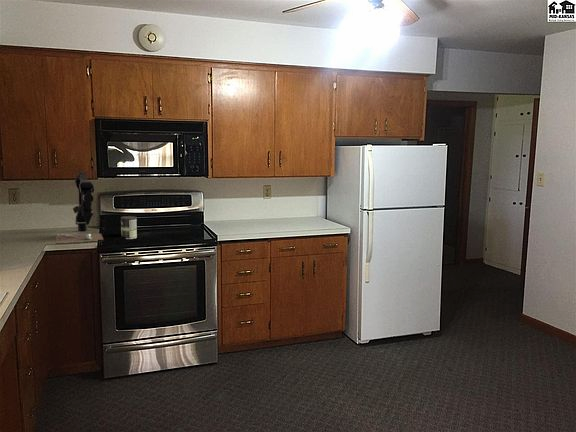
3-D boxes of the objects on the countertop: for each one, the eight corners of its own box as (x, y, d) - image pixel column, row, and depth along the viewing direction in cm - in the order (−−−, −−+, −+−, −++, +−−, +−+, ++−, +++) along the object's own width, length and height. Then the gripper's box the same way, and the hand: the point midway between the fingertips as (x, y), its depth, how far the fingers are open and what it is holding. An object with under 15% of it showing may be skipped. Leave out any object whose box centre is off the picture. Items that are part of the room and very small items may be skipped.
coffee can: (121, 239, 330) (120, 218, 328) (120, 236, 339) (120, 216, 337) (137, 238, 334) (137, 218, 331) (136, 235, 343) (136, 215, 341)
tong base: (57, 236, 328) (57, 233, 328) (89, 234, 336) (89, 231, 336) (57, 237, 324) (57, 234, 323) (90, 235, 332) (90, 233, 332)
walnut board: (55, 238, 328) (55, 236, 328) (100, 235, 340) (100, 233, 340) (55, 244, 310) (55, 241, 310) (103, 241, 322) (103, 239, 322)
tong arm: (62, 237, 325) (62, 231, 324) (66, 236, 328) (66, 231, 327) (89, 240, 318) (89, 234, 317) (92, 239, 321) (92, 233, 320)
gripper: (72, 199, 327) (73, 223, 329) (73, 203, 310) (74, 227, 312) (90, 199, 331) (91, 222, 334) (92, 202, 315) (93, 226, 317)
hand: (87, 224), depth 324 cm, fingers closed
